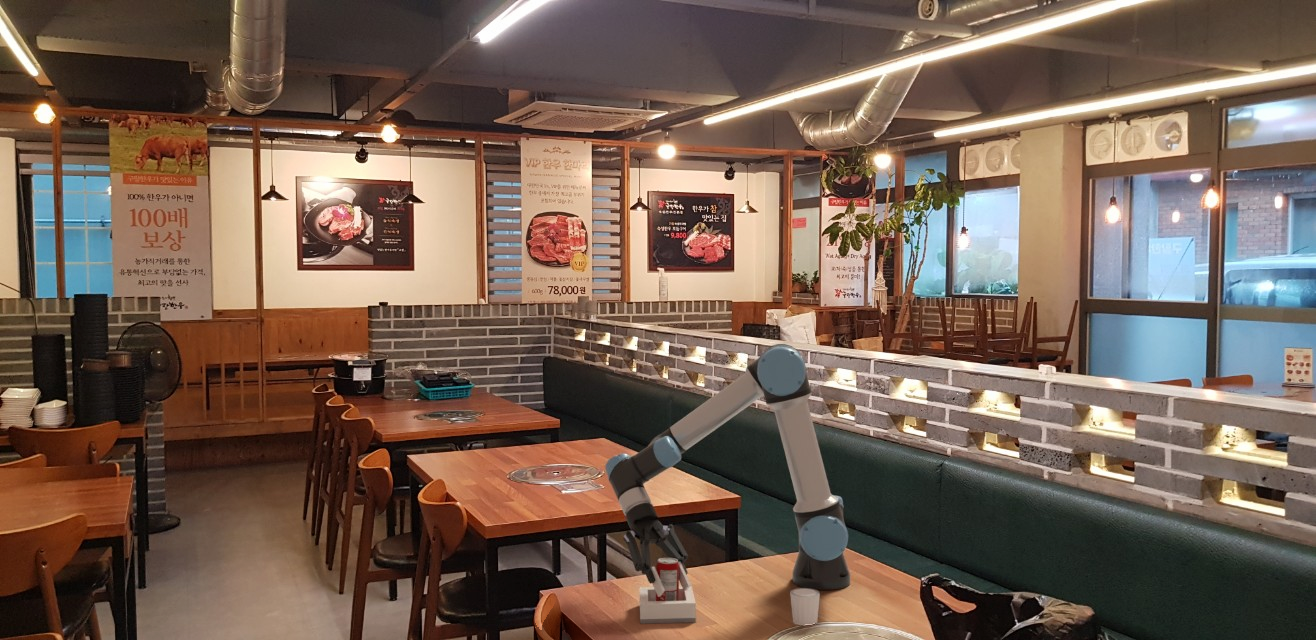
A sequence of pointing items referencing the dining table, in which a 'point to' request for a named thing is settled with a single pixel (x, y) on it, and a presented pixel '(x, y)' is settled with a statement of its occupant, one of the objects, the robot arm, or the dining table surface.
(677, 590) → the soda can
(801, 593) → the shot glass
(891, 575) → the dining table surface
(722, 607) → the dining table surface
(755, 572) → the dining table surface
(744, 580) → the dining table surface
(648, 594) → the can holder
